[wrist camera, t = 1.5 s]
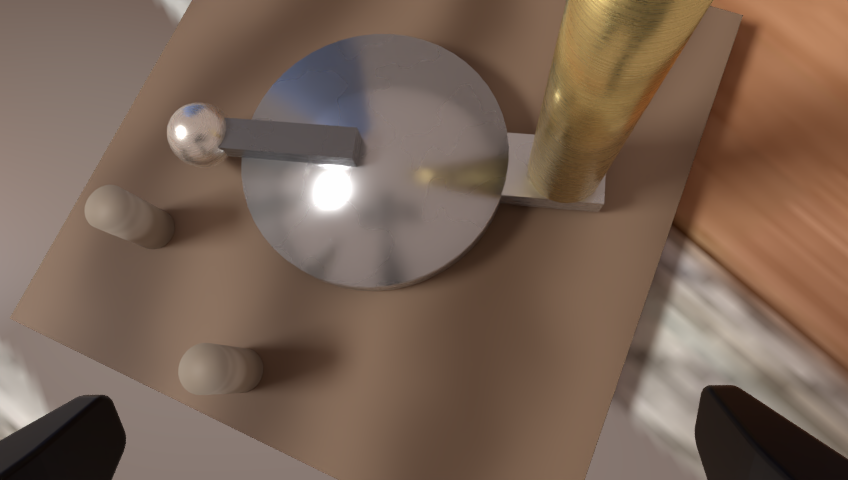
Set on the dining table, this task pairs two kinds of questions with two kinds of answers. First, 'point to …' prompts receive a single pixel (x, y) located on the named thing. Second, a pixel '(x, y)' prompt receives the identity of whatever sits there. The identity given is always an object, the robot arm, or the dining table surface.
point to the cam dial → (432, 141)
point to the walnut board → (373, 310)
